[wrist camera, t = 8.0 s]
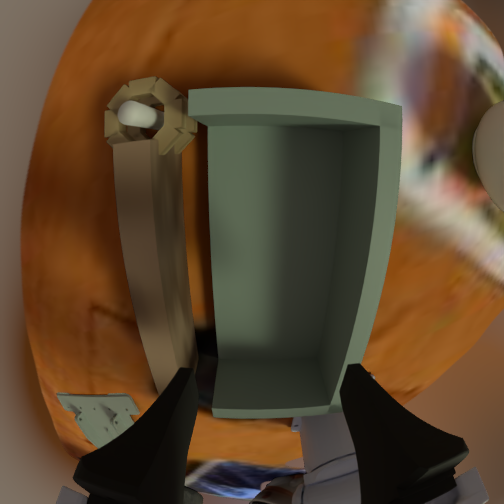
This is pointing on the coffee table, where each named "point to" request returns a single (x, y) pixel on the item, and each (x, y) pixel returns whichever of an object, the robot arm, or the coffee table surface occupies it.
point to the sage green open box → (293, 238)
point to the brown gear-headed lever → (155, 224)
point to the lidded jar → (491, 153)
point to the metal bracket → (101, 414)
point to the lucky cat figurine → (279, 490)
